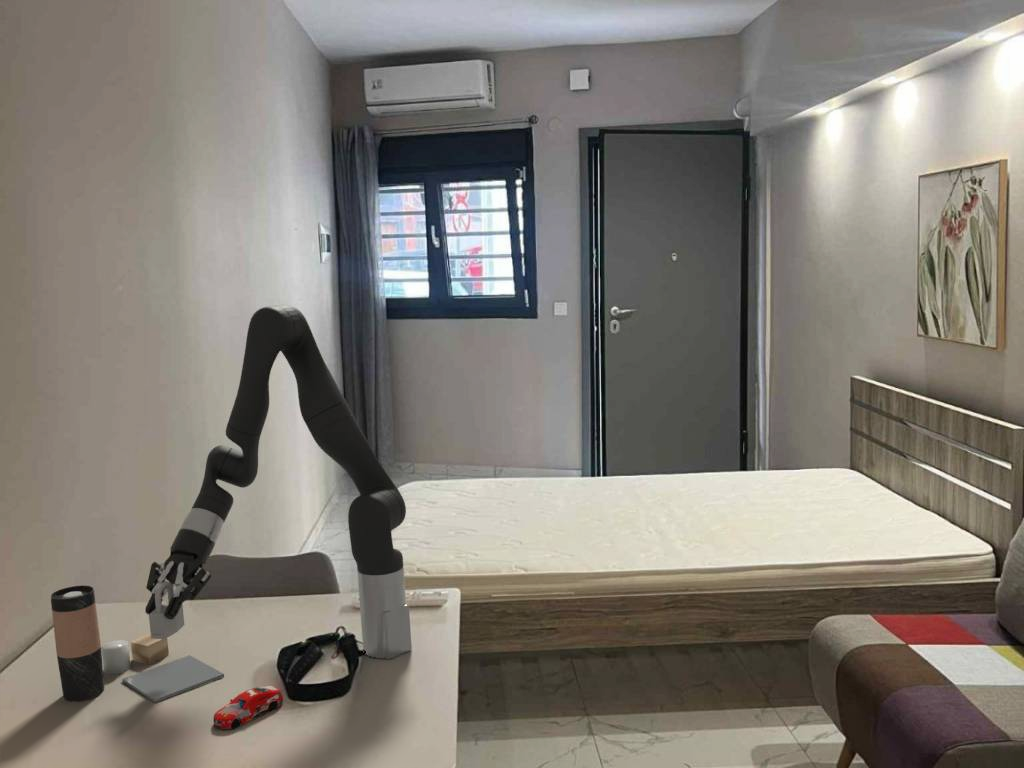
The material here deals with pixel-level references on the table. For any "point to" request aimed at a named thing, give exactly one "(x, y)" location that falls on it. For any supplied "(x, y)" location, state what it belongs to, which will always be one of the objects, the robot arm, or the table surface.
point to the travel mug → (77, 642)
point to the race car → (248, 707)
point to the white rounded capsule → (115, 657)
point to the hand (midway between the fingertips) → (159, 615)
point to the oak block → (149, 649)
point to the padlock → (160, 623)
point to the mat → (172, 678)
